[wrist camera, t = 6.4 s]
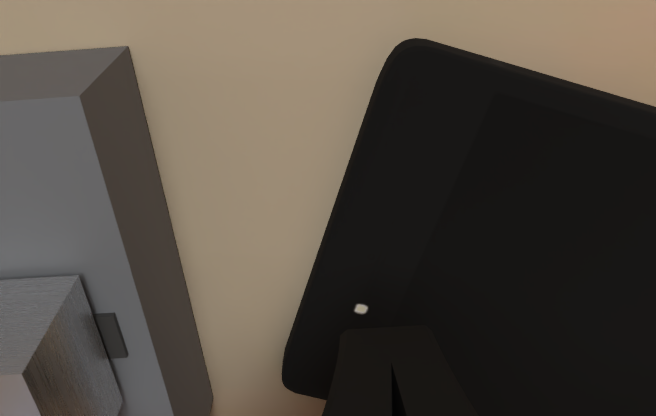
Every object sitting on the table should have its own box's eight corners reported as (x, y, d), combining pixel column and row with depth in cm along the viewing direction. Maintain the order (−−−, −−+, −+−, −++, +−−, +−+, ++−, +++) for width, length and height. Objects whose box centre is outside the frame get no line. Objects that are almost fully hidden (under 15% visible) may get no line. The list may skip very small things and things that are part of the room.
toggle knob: (0, 407, 12) (-63, 515, 10) (-63, 283, 10) (-152, 383, 8) (123, 400, 12) (83, 507, 10) (78, 275, 10) (21, 374, 8)
